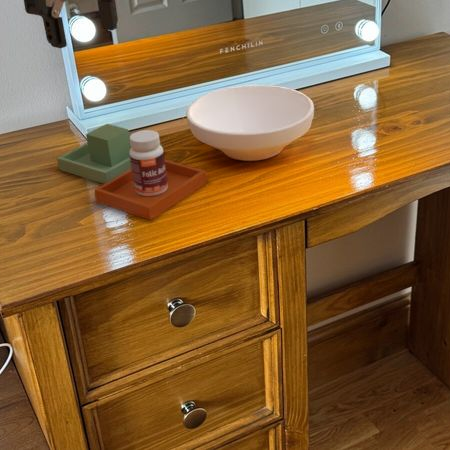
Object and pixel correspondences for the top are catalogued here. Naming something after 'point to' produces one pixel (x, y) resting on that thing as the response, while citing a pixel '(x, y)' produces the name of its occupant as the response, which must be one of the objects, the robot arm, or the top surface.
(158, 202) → the reddish-brown tray
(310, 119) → the bowl
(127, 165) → the sage tray
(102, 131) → the sage block
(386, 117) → the top surface
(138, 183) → the pill bottle
